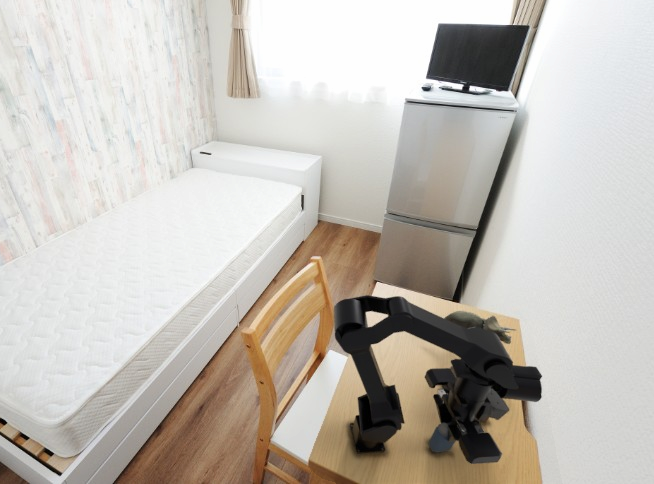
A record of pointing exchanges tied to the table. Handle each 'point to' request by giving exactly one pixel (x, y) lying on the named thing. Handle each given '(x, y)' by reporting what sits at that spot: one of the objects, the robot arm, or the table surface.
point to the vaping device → (441, 438)
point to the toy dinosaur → (480, 323)
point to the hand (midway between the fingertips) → (447, 434)
